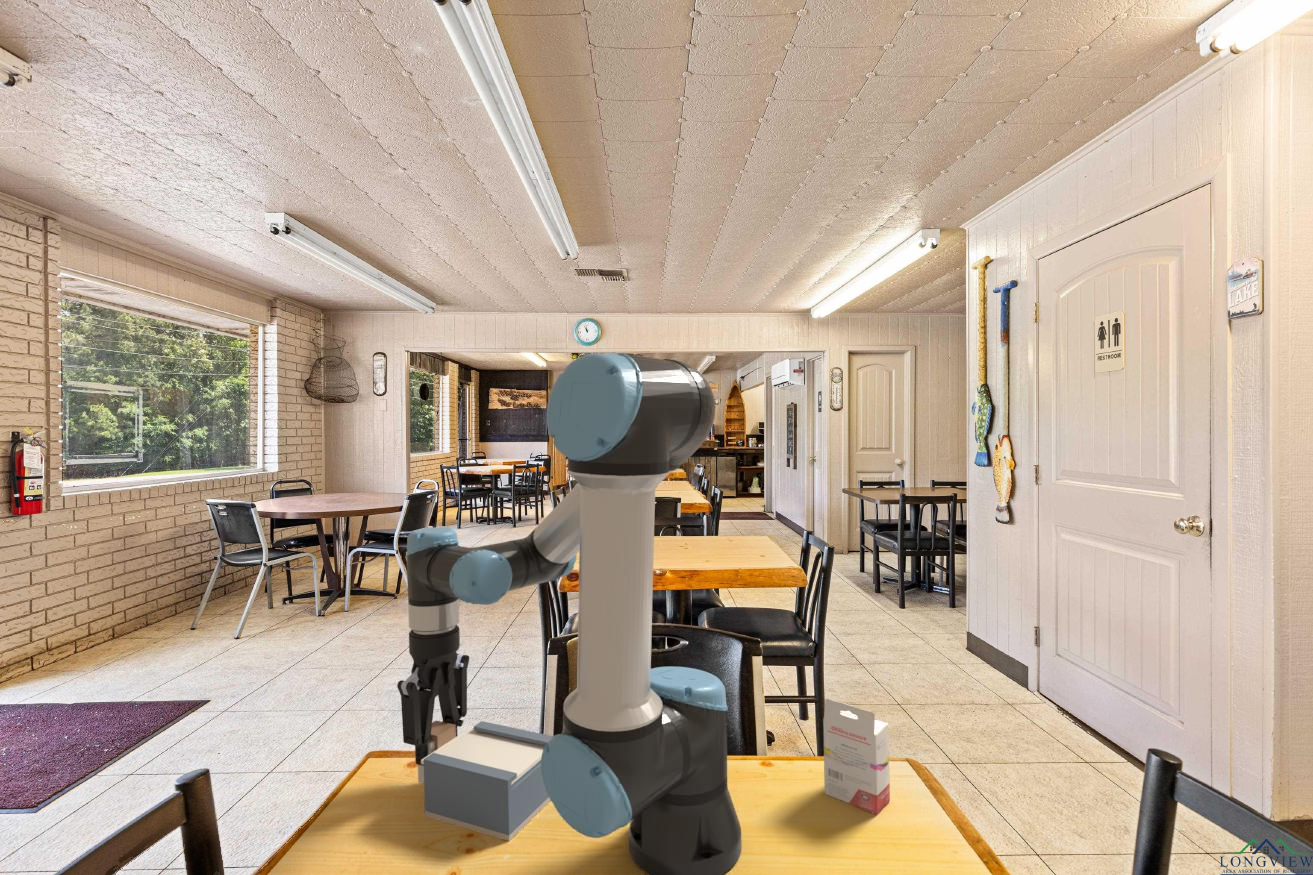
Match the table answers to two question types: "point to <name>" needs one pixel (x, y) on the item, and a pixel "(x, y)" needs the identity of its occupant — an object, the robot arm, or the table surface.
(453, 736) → the lid
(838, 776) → the ink cartridge box
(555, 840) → the table surface
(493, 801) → the grey open box
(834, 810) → the table surface
